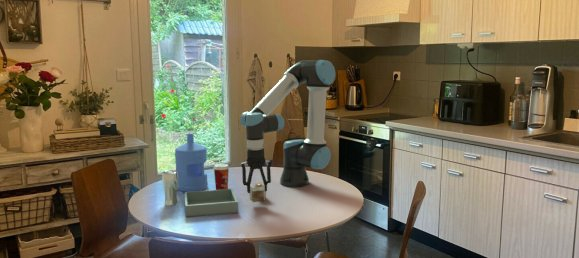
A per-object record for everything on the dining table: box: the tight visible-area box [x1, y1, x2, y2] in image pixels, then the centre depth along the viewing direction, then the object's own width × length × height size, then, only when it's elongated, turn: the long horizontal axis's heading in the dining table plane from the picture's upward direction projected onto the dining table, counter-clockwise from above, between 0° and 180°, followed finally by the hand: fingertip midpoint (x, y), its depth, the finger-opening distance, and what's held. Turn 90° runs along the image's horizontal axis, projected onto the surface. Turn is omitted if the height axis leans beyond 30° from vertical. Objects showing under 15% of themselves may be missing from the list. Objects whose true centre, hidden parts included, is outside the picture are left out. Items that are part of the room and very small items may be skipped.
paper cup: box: [212, 163, 230, 190], centre depth 218 cm, size 8×8×14 cm
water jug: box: [174, 133, 209, 193], centre depth 226 cm, size 16×16×28 cm
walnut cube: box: [252, 187, 265, 203], centre depth 199 cm, size 5×5×5 cm
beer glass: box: [161, 169, 179, 207], centre depth 202 cm, size 7×7×15 cm
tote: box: [184, 188, 239, 218], centre depth 198 cm, size 22×20×5 cm
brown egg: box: [254, 182, 267, 200], centre depth 211 cm, size 5×5×7 cm
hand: (257, 198), depth 200 cm, fingers closed on walnut cube, 5 cm apart
